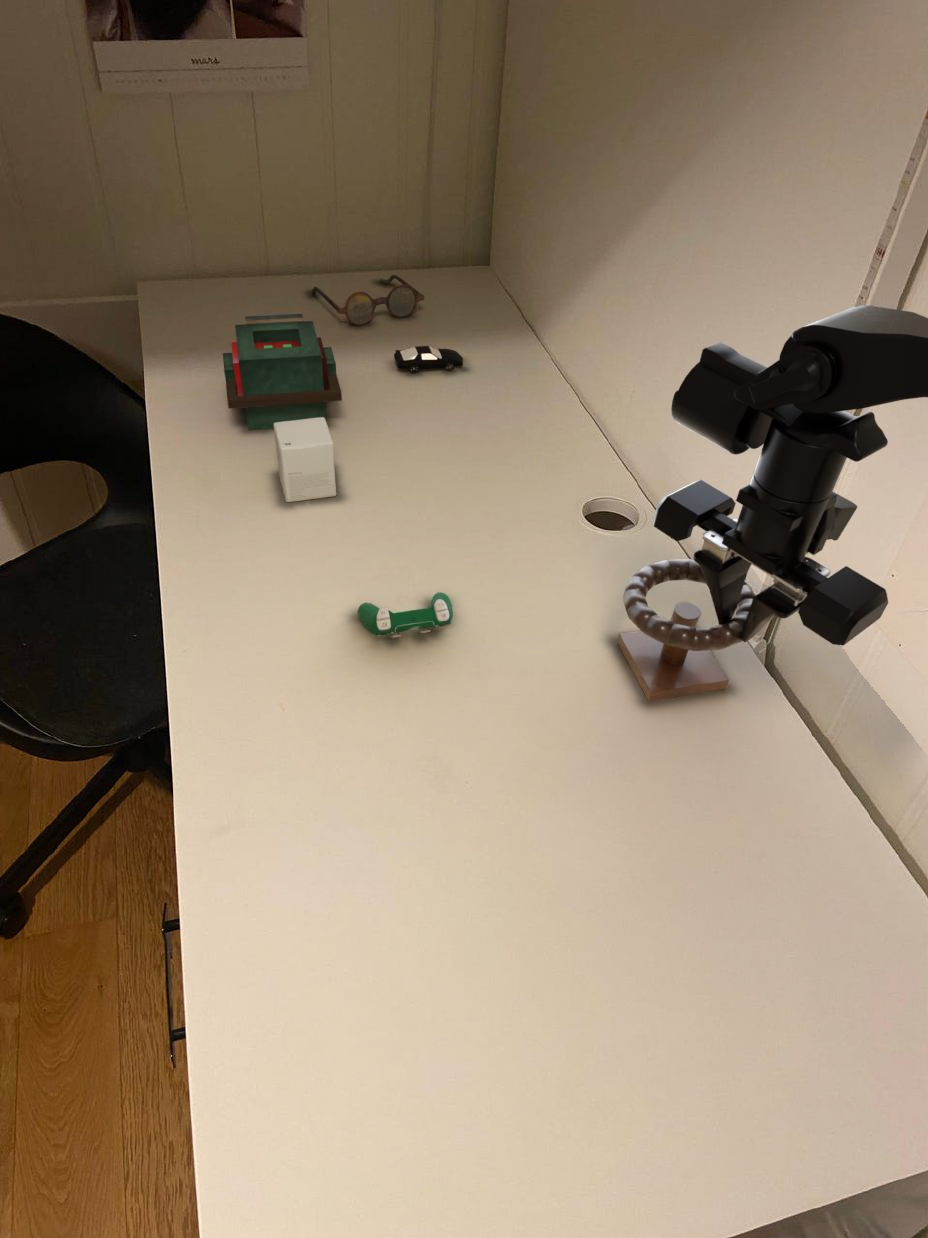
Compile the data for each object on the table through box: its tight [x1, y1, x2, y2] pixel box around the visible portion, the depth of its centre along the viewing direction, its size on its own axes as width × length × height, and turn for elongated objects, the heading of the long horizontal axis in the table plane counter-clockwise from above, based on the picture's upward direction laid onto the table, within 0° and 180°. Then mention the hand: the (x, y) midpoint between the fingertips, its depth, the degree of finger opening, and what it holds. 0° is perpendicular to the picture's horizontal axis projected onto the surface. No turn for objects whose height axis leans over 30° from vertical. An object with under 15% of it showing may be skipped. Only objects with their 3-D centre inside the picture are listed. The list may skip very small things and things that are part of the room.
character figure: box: [222, 313, 343, 432], centre depth 112 cm, size 14×14×20 cm
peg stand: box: [616, 601, 730, 702], centre depth 79 cm, size 8×8×7 cm
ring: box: [622, 558, 756, 651], centre depth 76 cm, size 12×12×2 cm
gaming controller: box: [357, 591, 454, 639], centre depth 82 cm, size 9×4×6 cm
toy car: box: [393, 345, 464, 375], centre depth 123 cm, size 10×4×3 cm, turn 104°
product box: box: [273, 417, 337, 503], centre depth 98 cm, size 6×6×7 cm
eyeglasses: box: [311, 274, 425, 326], centre depth 137 cm, size 15×15×5 cm
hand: (735, 631), depth 73 cm, fingers closed on ring, 2 cm apart
